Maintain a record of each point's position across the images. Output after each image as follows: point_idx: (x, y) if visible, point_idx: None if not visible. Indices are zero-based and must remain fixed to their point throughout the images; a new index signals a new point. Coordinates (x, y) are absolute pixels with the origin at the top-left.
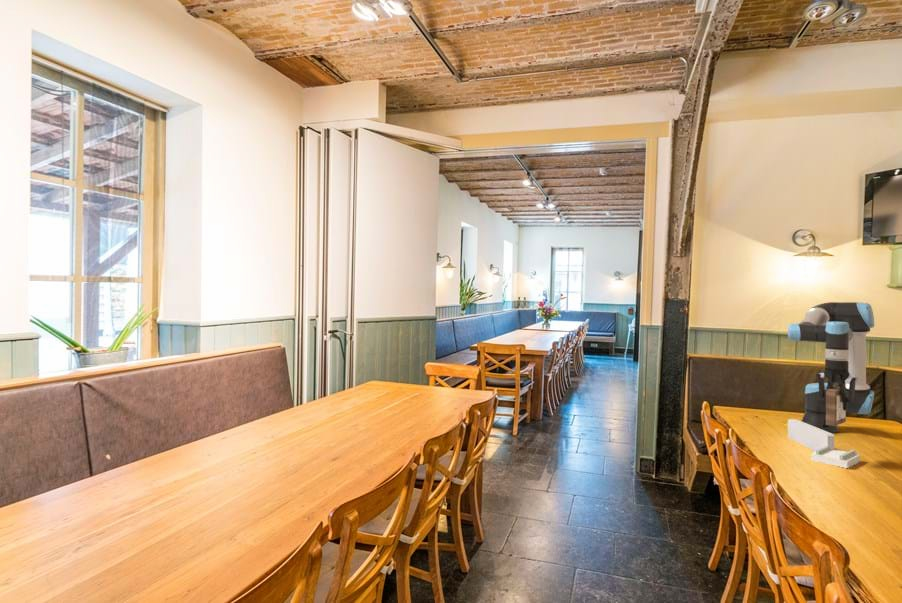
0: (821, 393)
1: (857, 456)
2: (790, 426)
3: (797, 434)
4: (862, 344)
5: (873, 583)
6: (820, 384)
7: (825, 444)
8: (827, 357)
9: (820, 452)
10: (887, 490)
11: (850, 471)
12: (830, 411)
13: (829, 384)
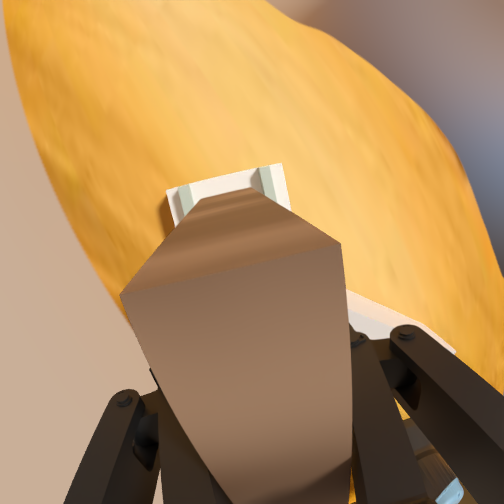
0: (419, 352)
1: None
2: (438, 339)
3: (408, 322)
4: None
5: None
6: (499, 420)
7: None
8: None
9: (262, 186)
10: (38, 120)
11: (152, 173)
12: (225, 203)
13: (397, 501)
